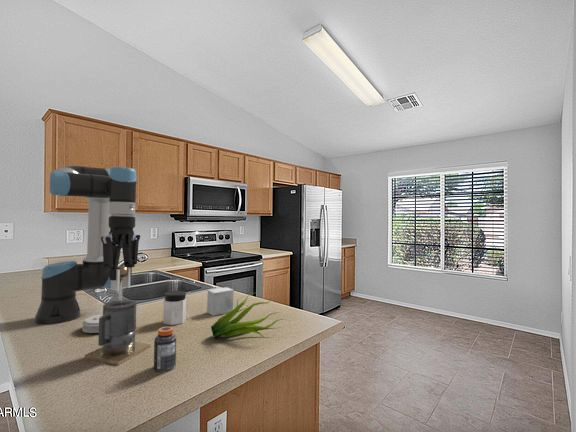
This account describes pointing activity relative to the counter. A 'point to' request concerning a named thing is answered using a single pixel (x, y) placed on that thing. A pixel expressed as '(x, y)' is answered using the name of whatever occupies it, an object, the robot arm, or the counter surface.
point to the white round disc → (91, 324)
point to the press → (117, 334)
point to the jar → (174, 308)
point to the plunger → (121, 281)
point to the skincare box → (220, 301)
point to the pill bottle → (165, 350)
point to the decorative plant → (232, 327)
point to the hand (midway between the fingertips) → (120, 288)
